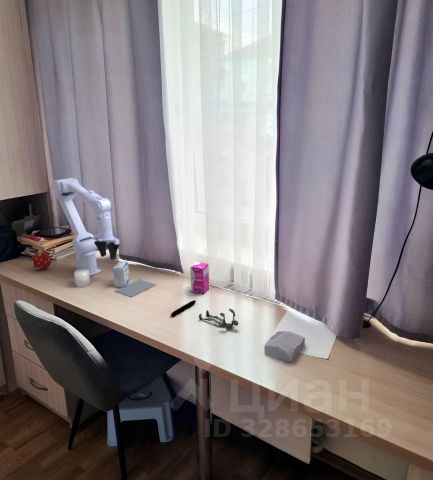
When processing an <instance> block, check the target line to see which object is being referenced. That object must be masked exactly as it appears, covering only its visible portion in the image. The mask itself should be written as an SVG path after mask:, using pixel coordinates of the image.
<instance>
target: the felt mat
mask: <svg viewBox="0 0 433 480" xmlns="http://www.w3.org/2000/svg"><path fill="white" fill-rule="evenodd" d="M155 286H157V284H156V283H152V282H149V281H147V280H143V279H137V280H135V281H133V282H131V283H129V284H128V283H127V285H126V287H119V288H118V289H115V290H114V292H115V293H118V294H120V295H121V294H122V295H123V296H127V297H129V298H133V297H135V296H137V295H139V294H141V293H143V292H145V291H148V290H149V289H152V288H153V287H155Z"/></svg>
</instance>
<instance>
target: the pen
mask: <svg viewBox="0 0 433 480" xmlns="http://www.w3.org/2000/svg"><path fill="white" fill-rule="evenodd" d="M196 302H197V300H196V299H195V300H191V301H189V302H188V303H186V304H183V305H182V306H180V307H179V308H177V309H175V310H174V311H172V312H171V314H170V317H172V318H174V317H177V316H178V315H180V314H181V313H184V312H185V311H187V310H188V309H189V308H191V307H193V306H194V305H195V303H196Z"/></svg>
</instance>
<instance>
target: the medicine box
mask: <svg viewBox="0 0 433 480" xmlns="http://www.w3.org/2000/svg"><path fill="white" fill-rule="evenodd" d="M129 269H130V268H129V263H128V261H125V260H124V261H118V262H117V263H116V264H115V265H114V266H113V268H112V271H113V278H114V279H113V280H114V284H115V288H122V287H126V285H128V283H129V282H130V280H131V278H130V271H129Z"/></svg>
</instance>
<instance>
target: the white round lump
mask: <svg viewBox="0 0 433 480" xmlns="http://www.w3.org/2000/svg"><path fill="white" fill-rule="evenodd" d="M73 275H74V276H73V277H74V282H75V283H74V284H75V287H77V288H86V287H88V286H90V285H91V278H90V276H89V270H88V269H79V270H77V269H76V270H75V271H73Z"/></svg>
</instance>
